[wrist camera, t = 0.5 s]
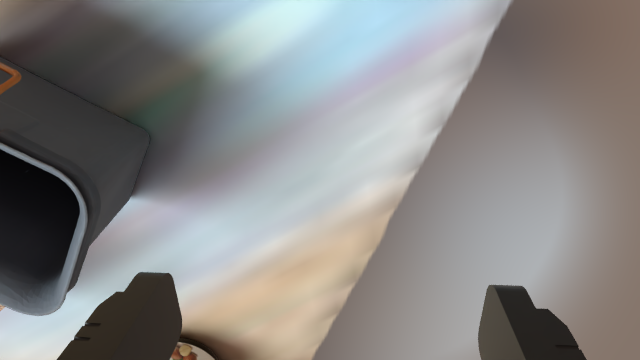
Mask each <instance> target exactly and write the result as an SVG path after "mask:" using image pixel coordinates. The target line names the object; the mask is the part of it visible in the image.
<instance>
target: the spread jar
mask: <svg viewBox="0 0 640 360" xmlns="http://www.w3.org/2000/svg"><path fill="white" fill-rule="evenodd" d="M170 360H219V359H218V358H217V357H216V355H215V354H214V353H213V352H212V351H211V350H210V349H209V348H208V347H206V346H205V345H203V344H201V343H199V342H197V341H193V340H189V339H179V341H178V343H177V345H176V347H175V350H174V352H173V354H172V356H171V358H170Z"/></svg>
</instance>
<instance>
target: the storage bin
mask: <svg viewBox="0 0 640 360" xmlns="http://www.w3.org/2000/svg"><path fill="white" fill-rule="evenodd" d="M149 142H150V137H149V135H148V133H147V132H146V131H145V130H144V129H142V128H140V127H138V126H136V125H134V124H132V123H130V122H128V121H126V120H124V119H122V118H120V117H118V116H116V115H114V114H112V113H110V112H108V111H106V110H104V109H102V108H100V107H98V106H96V105H94V104H92V103H90V102H88V101H86V100H84V99H82V98H80V97H78V96H76V95H74V94H72V93H70V92H68V91H66V90H64V89H62V88H60V87H58V86H56V85H54V84H52V83H50V82H48V81H46V80H44V79H42V78H40V77H38V76H36V75H34V74H32V73H30V72H28V71H27V70H25V69H23V68H21V67H19V66H17V65H15V64H13V63H11V62H9V61H7V60H6V59H4V58H2V57H0V305H2V306H5V307H7V308H9V309H12V310H14V311H16V312H20V313H23V314H27V315H34V316H43V315H49V314H51V313H53V312H55V311H56V310H58V309H59V308H60V307H61V306H62V304H63V302H64V300H65V297H66V294H67V292H68V291H70V290H71V289H72V288H73V287H74V286H75V284H76V283H77V280H78V277H79V274H80V271H81V268H82V265H83V262H84V260H85V257H86V254H87V251H88V248H89V246H90V245H91V244H92V242H93V241H94V240H95V239H96V238H97V237H98V235H99V234H100V233H101V232H102V231H103V230H104V229H105V227H106V226H107V225H108V224H109V223H110V222H111V220H112V219H113V218H114V217H115V216H116V215H117V213H118V212H119V211H120V210H121V209H122V208H123V206H124V205H125V204H126V203H127V202H128V201H129V199H130V196H131V193H132V190H133V188H134V185H135V182H136V179H137V176H138V173H139V170H140V168H141V165H142V162H143V159H144V156H145V154H146V151H147V148H148V145H149Z"/></svg>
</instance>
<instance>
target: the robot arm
mask: <svg viewBox="0 0 640 360" xmlns="http://www.w3.org/2000/svg"><path fill="white" fill-rule="evenodd" d="M181 329H182V316H181V312H180V307H179V303H178V298H177V294H176V290H175V285H174V281H173V278H172V276H171V274H169V273H149V272H140V273H138V274H137V275H136V276H135V277H134V279H133V280H132V281H131V283H130V284H129V286H128V287H127V288H126V290H125V291H124V292H116V293H115V294H113V295H112V296H111V297H109V298H108V299H107V300H105V301H104V302H103V303H101V304H100V305H99V306H98V307H97V308H96V309H95V310H94V312H93V313H92V314H91V316H90V317H89V318H88V320H87V321H86V322H85V326H82V327H81V329H80V330H79V331H78V333H77V334H76V335H75V337H74V340H73V341H71V342H70V343H69V344H68V346H67V347H66V348H65V350H64V351H63V352H62V353H61V355H60V356H59V357H58V359H57V360H170V358H171V356H172V354H173V352H174V350H175V347H176V345H177V343H178V341H179V338H180V335H181ZM478 342H479V351H480V356H481V359H482V360H586V358H585V356H584V354H583V353H582V351H581V350H579V348H578V345H577V343H576V341H575V339H574V337H573V336H572V334H571V332H570V331H569V329H568V327H567V326H566V325H565V324H564V323H563V322H562V321H561V320H559V319H558V318H557V317H556V316H555V315H554V314H553V313H552V312H551V311H549V310H548V309H536V308H535V306H534V304H533V302H532V300H531V298H530V296H529V295H528V293H527V291H526V289H525V288H524V287H522V286H508V285H506V286H505V285H489V286H488V289H487V292H486V296H485V302H484V307H483V312H482V317H481V321H480V326H479V333H478Z"/></svg>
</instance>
